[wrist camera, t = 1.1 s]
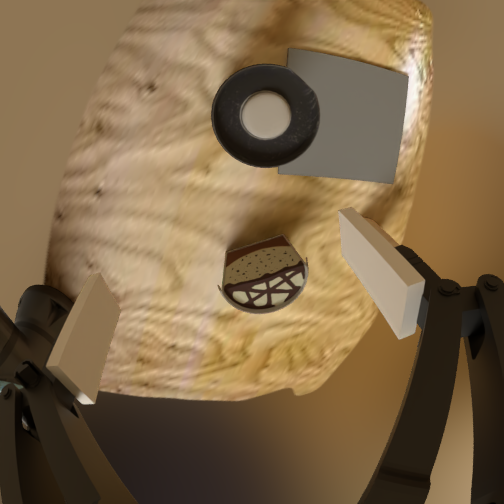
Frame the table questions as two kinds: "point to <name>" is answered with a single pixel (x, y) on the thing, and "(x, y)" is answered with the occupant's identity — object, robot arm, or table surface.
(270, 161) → the travel mug
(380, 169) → the mat
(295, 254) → the food container
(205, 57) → the table surface
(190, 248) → the table surface
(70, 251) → the table surface
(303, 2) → the table surface
